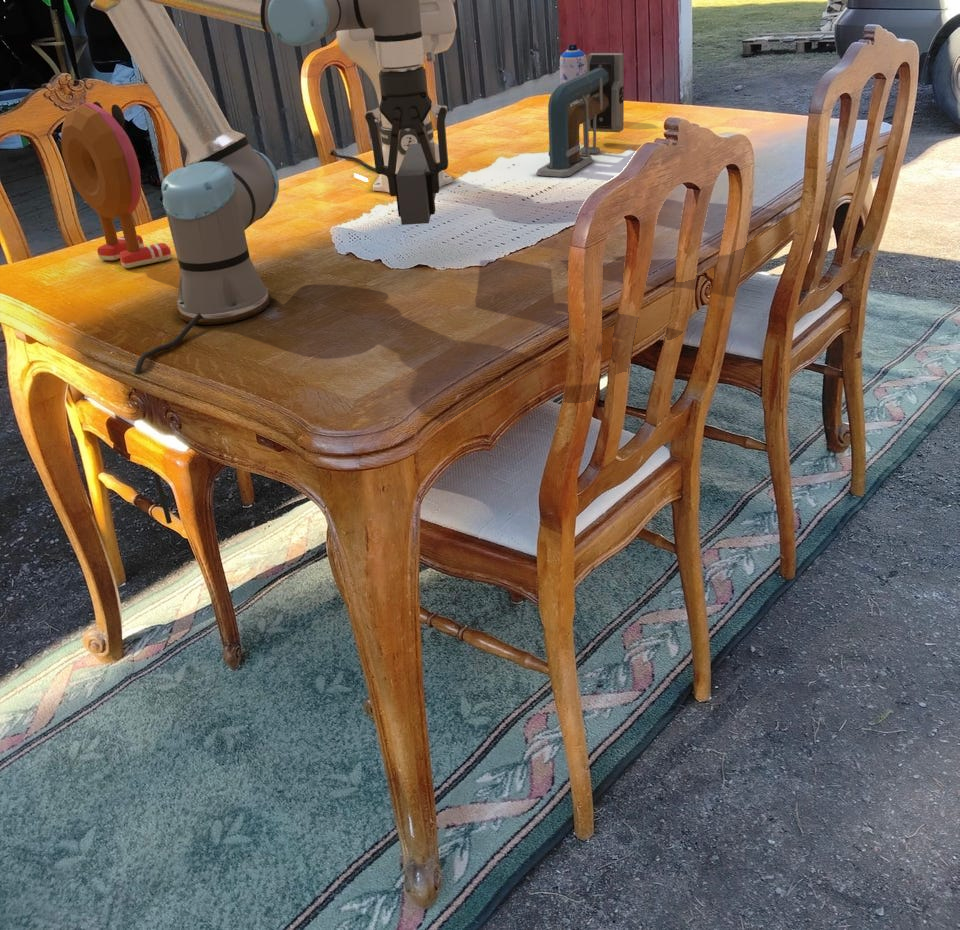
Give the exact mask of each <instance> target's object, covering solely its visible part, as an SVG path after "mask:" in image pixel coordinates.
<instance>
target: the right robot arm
mask: <svg viewBox="0 0 960 930" xmlns="http://www.w3.org/2000/svg"><path fill="white" fill-rule="evenodd" d="M456 1H457V0H419V6H420V19H421V31H422V38H423V48H424V58H426V62H427V63H434V62H436V55H437V54H441V53H443V52H446V51H448V50H449V49H450V47H451V46H452V45H453V43H454V39H455V36H456V30H457V28H458V23H457V17H456V9H455V5H454V4H455V3H456ZM335 33H336V34H335V35H336V41H337V45H338V46H339V49H340V51H341V53H342V54H343V55H344V56H345V57H346V58H347V59H348V60H350V61H351V62H353V63H354V64H356V65H357V66H358V67H359V68H361V70H362V71H363V72H364V73H365V74H366V76H367V77H368V78H369V79H370V81H371V83H372V85H373V88H374V90H375V94H376V97H377V102H378V107H379V106H380V103H381V90H380V82H379V73H380V71H381V70H382V68H379V67H378V65H377V57H376V49H375V40H374V31H373V28H368V29H352V30H341V31H337V32H335ZM380 117H381V120H380V122H381V126H379V127H380V134H381V142H382V150H383V158H384V165H385V166H388V160H389V151H390V142H391V131H392V125H391V124H390V122H389V121H388V120H387V119H386V118H385V117H384V115H383V114H381V115H380ZM424 125H425V128H426V132H427V135H428V138H429V141H430V143H434V146H435V157H436V162H437V163H438V162H440V157H439V146H438V143H437V142H435V140H434V137H435V136H434V127H433V121H432V120H431V116H430V112H429V113H428V115H427V117H426V118H425V120H424ZM419 143H420V141H419V138H418V135H417V133H416V130H415V129H409V128H406V129H404V130H401V131H400V138H399V146H398V155H397V164H396V172H395V173H396V174H397V173H398V171H399V168H400V166H401V163H402V161H403V159H404V156H405V154H406V151H407V149H408V146H409V144H419ZM329 154H330V156H332V155H334V156H335V157H336V158H340V159H344V160H351V161H356V162H358V163H360V164H361V166H364V167H365V168H366V169H369V170H371V171H373V172H376V169H375V167H374V166H372V165H370V164H368V163H366V162H364V161H363V160H361V159H360V158H358V157H355V156H349V155H342V154H338V153H337V152H336V150H335V149H331V151H330V152H329ZM353 175H354V178H356V179H358V180H361V181H363V182H366V183H367V182H369V180H368V178H367V177H364V176H362V175H361V174H360V175H359V174H357V173H354V174H353ZM451 183H454V181H453V177H452V176H451V175H450V174H448V173H446V172H445V170H442V171H440V172H439V185H440V187H442V186H444V185H449V184H451ZM372 191H374V192H384V193H388V194H390V192H389V184H388V178H387V176H385V175H382V174H378V176H377V178H376V180H375V182H374V183H373V184H372Z"/></svg>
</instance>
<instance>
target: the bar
mask: <svg viewBox="0 0 960 930" xmlns="http://www.w3.org/2000/svg"><path fill="white" fill-rule="evenodd" d="M430 144H431V147H432V150H433V153H434V156H435V146H434V143H430ZM435 159H436V157H435ZM427 172H430V170H429V167H428V164H427V161H426V158H425V156H424V153H423V150H422V147H421V144H420V143H419V144H409V146H408V149H407V151H406V154H405V156H404V159H403V161H402V163H401V166H400V168H399V171H398V173H397V176H396V181H397V189H398V198H399V207H400V216H401V217H400V223H401V225H402V226H406V225H407V226H408V225H422V224H429V223H430V220H431V216H432V215H430V210H429V200H428V189H427V179H426V175H427ZM436 196H437V193H434V200H436Z"/></svg>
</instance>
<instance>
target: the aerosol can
mask: <svg viewBox="0 0 960 930" xmlns="http://www.w3.org/2000/svg"><path fill="white" fill-rule="evenodd" d="M585 73H587V55H586V54H585V52H584V51H583V50H581V49H579V48H578V44H577V43H574V44H568V48H567V49H566V50H565V51H563V52H562V53H561V55H560V56H559V79H560V81H559V83H560V84H559V85H561V84H564V83H566V82H568V81H570V80H572V79H574V78H577V77H579V76H581V75H583V74H585ZM581 101H583V100H582V99H581V100H576V101H574V102H572V103H570V107H571V106H573V105H575V104H577V103H579V102H581Z"/></svg>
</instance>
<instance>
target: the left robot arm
mask: <svg viewBox="0 0 960 930" xmlns="http://www.w3.org/2000/svg"><path fill="white" fill-rule="evenodd" d="M88 3H89V4H90V6H91V7H92V8H93V9H96V10H98V11H101V12H104V13H105V14H106V15H107V16H108V18H109V20H110V21H111V23H112V25H113V27H114V28H115V31H116V32H117V34H118V35H119V37H120V39H121V40H122V42H123V43H124V46H125V47H126V49H127V51H128V52H129V54H130V57H132V59H133V61H134V63H135V65H136V67H137V68H138V70H139V72H140V73H141V75H142V77H143V78H144V80H145V83H147V85H148V87H149V89H150V91H151V93H152V94H153V96H154V97H155V99H156V101H157V103H158V105H159V106H160V108H161V109H162V111H163V113H164V115H165V116H166V118H167V120H168V122H169V123H170V125H171V127H172V129H173V130H174V132H175V134H176V136H177V137H178V139H179V141H180V143H181V144H182V146H183V147H184V149H185V151H186V158H185V162H184V167H183V166H181V167H178V168H176V169H174V170H172V171H171V172H169V173H168V174H167V175H166V176H165V177H164V179H162V183H161V195H162V205H163V209H164V211H165V214H166V219H167V222H168V226H169V230H170V231H169V232H170V234H171V238H172V242H173V247H174V250H175V254H176V258H177V262H178V266H179V283H178V294H177V303H176V305H177V310H178V314H179V318H180V319H182V320H183V321H184V322H186V323H188V324H187V325H186V326H185V327H184V328H183V329H182V330H181V332H180V333H179V334H178V335H176V336H175V337H174V339H172V340H171V341H169V342H167V343H165V344H162V345H159V346H156V347H153V348H152V349H149V350H148V351H145V352H144V353H142V354H140V356H139V357H138V359H137V362H136V365H135V370H134V374H135V375H139V374H141V373H142V368H143V365H144V362H145V360H146V359H148V358H150V357H152V356H154V355H156V354H158V353H160V352H163V351H166V350H168V349H171V348H173V347H175V346H176V345H177V344H179V343H180V341H181V340H182V339H183V338H184V337H186V335H187V334H188V333H189V332H190V330H192V328H193V327H194V326H195V325H202V326H203V325H204V326H205V325H206V326H210V325H222V324H230V323H233V322H239V321H241V320H245V319H248V318H251V317H253V316H256V315H258V314H260V312H263V311H264V310H265V309H266V308H267V307H268V306H269V305H270V296H269V291H268V288H267V287H266V284H265V283H264V282H263V280H262V278H261V276H260V274H259V272H258V270H257V269H256V267H255V265H254V264H253V262H252V260H251V257H250V251H249V246H248V241H247V236H246V232H245V231H246V230H247V229H248V228H249V227H251V226H252V225H253V224H255V223H256V222H257V221H259V220H262V219H263V218H264V217H265V216H266V215H267V214H268V213H269V212H270V210H271V209H272V207H273V206H274V205H275V203H276V202H277V199H278V197H279V192H280V181H279V175H278V173H277V170H276V167H275V165H274V164H273V163H272V161H271V160H270V159H269V158H268V157H267V156H266V155H265V154H264V153H262V152H260V151H258V150H256V149H255V148H254V149H253V147H252V145H251V143H250V142H249V140H248V138H247V136H246V135H245V134H244V133H241V132H239V131H236V130H233V129H232V127H231V126H230V124H229V122H228V120H227V118H226V117H225V115H224V113H223V111H222V109H221V108H220V106H219V104H218V102H217V100H216V99H215V97H214V94H213V93H212V91H211V89H210V88H209V86H208V84H207V82H206V80H205V78H204V77H203V75H202V73H201V71H200V70H199V67H198V66H197V64H196V63H195V60H194V58H193V57H192V55H191V53H190V52H189V50H188V48H187V46H186V44H185V43H184V41H183V39H182V37H181V35H180V33H179V32H178V30H177V28H176V25H174V22H173V21H172V19H171V17H170V16H169V14H168V12H167V10H166V8H165V7H170V8H172V9H177V10H180V11H184V12H188V13H191V14H196V15H199V16H203V17H207V18H211V19H216V20H219V21H223V22H226V23H230V24H234V25H237V26H242V27H246V28H250V29H253V30H256V31H260V32H264V33H268V34H271V35H274V36H275V37H277V39H278V40H279V41H281V42H282V43H284V44H286V45H288V46H293V47H302V46H303V47H305V46H310V45H312V44H314V43H317V42H318V41H319V40H321V39H323V38H325V37H328V36H330V35H332V34H335V33H337V31H341V30H352V29H368V28H373V31H374V40H375V49H376V57H377V65H378V67H379V68H382V70H381V71H380V73H379V82H380V90H381V103H380V106H379V105H378V107H377V108H374V109H373V110H371V109H369V110H367V112H366V113H365V115H364V118H365V121H366V123H367V125H368V127H369V130H370V138H371V145H372V153H373V160H374V161H373V162H374V168H375V169H376V171H375V173H376V174H378V175H379V174H382V175H385V176H387V178H388V184H389V192H390V193H389V192H388V193H389V195H390V197H396V205H397V214H398V217H400V218H401V216H400V207H399V198H398V189H397V181H396V176H397V174H396V173H395V172H396V164H397V155H398V146H399V138H400V131H401V130H404V129H406V128H409V129H415V130H416V133H417V135H418V138H419V141H420V144H421V147H422V150H423V153H424V156H425V158H426V161H427V164H428V167H429V170H430V172H427V175H426V179H427V189H428V200H429V210H430V215H431V216H432V215H435V214H436V201H435V200H436V199H435V200H434V193H436V194H439V192H440V189H441V186H440V185H439V172H440V171H442V170H444V171H446V170H448V167H449V153H448V141H447V129H446V118H447V114H448V109H449V108H448V105H446V104H442V105H440V104H436V103H433V101H432V99H431V97H430V95H429V92H428V81H427V69H426V68H425V66H422V65H423V64H425V62H426V61H425V60H426V57H424V48H423V38H422V31H421V19H420V6H419V0H88ZM430 111H431V112H432V116H433V118H434V119H435V120H436V133H437V144H438V146H439V157H440V162H438V163H437V162H436V159H435V156H434V153H433V150H432V147H431V144H430V141H429V138H428V135H427V132H426V128H425V125H424V120H425V118H426V117H427V115H428V113H429V114H430ZM381 114H383V115H384V117H385V118H386V119H387V120H388V121H389V122H390V124H391V125H392V131H391V142H390V151H389V160H388V166H385V165H384V158H383V150H382V146H383V142H382V138H381V133H380V132H381V128H380V127H381V126H380V122H381ZM152 476H153V479H154V483H155V486H156V490H157V492H158V497H159V500H160V503H161V506H162V507H161V508H162V511H163V514H164V518H165V522H166V524H167V525H169V524H171V523H173V520H172V517H171V512H170V508H169V506H168V502H167V498H166V494H165V490H164V488H163V486H162V481H161V478H160V475H159V474H154V475H152Z"/></svg>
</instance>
